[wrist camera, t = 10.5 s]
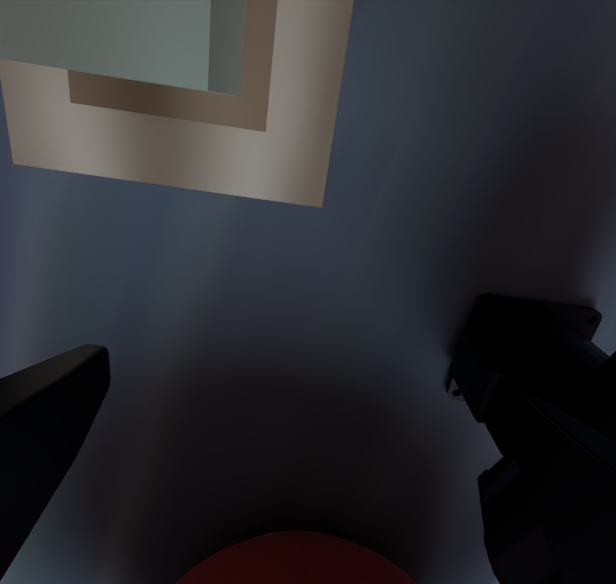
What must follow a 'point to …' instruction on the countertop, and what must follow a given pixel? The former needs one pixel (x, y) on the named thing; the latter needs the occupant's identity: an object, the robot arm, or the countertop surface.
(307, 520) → the countertop surface
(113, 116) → the birch base
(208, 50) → the gray cube
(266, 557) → the mixing bowl
